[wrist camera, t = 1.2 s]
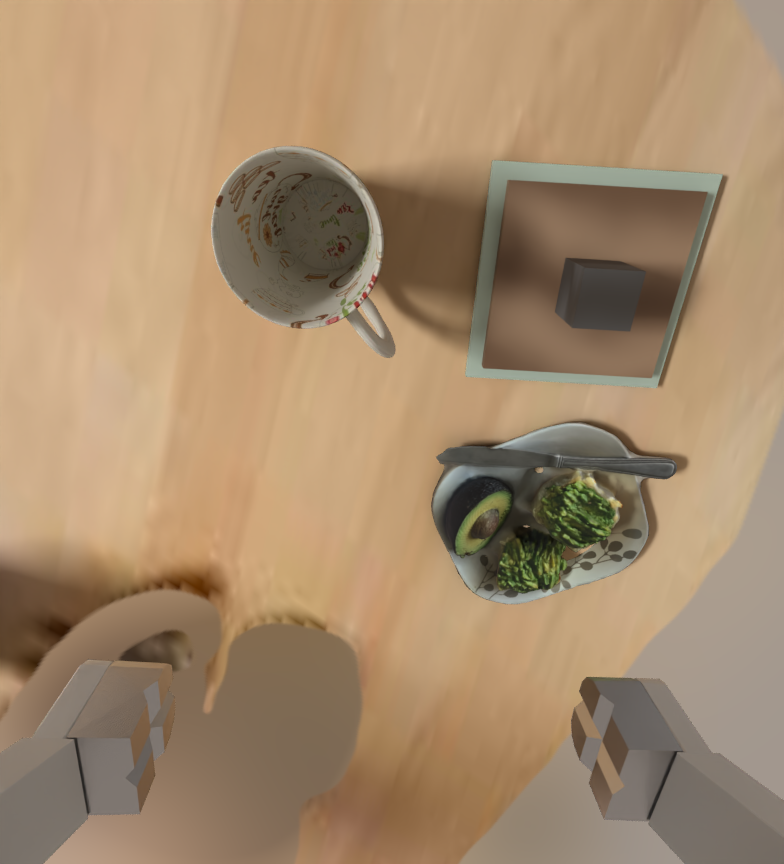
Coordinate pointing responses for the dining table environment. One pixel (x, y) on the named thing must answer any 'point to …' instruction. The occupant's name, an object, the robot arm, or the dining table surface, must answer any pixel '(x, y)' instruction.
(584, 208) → the walnut lid
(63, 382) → the dining table surface
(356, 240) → the mug
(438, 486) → the salad plate
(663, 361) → the green mat
